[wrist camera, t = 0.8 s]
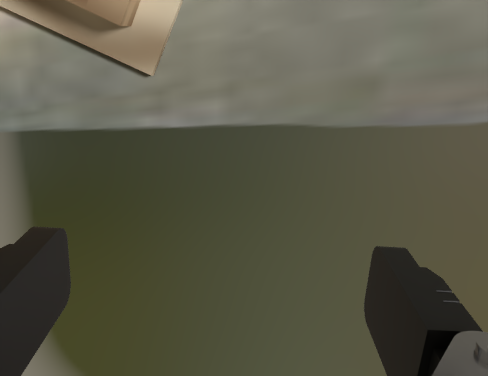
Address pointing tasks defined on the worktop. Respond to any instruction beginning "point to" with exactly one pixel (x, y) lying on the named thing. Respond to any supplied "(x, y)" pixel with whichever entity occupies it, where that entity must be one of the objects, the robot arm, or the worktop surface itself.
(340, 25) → the worktop surface
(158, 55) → the socket block
